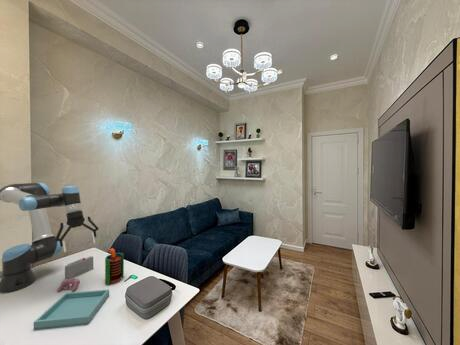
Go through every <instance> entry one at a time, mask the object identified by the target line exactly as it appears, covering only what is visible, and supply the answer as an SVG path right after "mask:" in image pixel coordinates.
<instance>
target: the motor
mask: <svg viewBox="0 0 460 345" xmlns="http://www.w3.org/2000/svg"><path fill="white" fill-rule="evenodd" d="M108 253H109V254H108V255H107V256H106V257H105V261H104V265H105V266H104V268H105V269H104V272H105V275H104V280H105V282H104V284H105V285H106V286H110V285H115V284H118V283H120V282H122V279H123V277H124V275H125V274H124V272H125V270H124V268H125V267H124V266H125V265H124V264H125V262H124V261H125V258H124V256H125V255H124V253H123V252H116V250H115V249H114V248H110V249H108Z"/></svg>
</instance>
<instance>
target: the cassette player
mask: <svg viewBox="0 0 460 345" xmlns="http://www.w3.org/2000/svg"><path fill="white" fill-rule="evenodd" d="M92 270H94V256H92V255H90V256H87V257H83V258H80V259H77V260H75V261H71V262H69V263H67V265H65V266H64V280H66V279H70V278H75V279H76V278H77V277H79V276H81V275H84V274H85V273H88V272H90V271H92Z"/></svg>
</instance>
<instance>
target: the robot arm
mask: <svg viewBox="0 0 460 345" xmlns="http://www.w3.org/2000/svg"><path fill="white" fill-rule="evenodd" d="M61 190H62V191H61V193H53V194H50V189H49V187H48V185H47V184H46V183H44V182H29V183H27V182H26V183H12V184H7V185H5V186H3V187H1V188H0V201H2V202H5V203H13V204H16V205H18V207H19V209H20V210H21V212H22V211H23V212H27V211H28V214H29V221H30V225H31V230H32V233H33V238H34V239H33V241H32V242H31V243H21V244H17V245H14V246H13V247H9V248H7V249H6V250H5V251H4V252H2V258H1V262H2V263H1V265H2V268H1V269H2V272H1V273H2V274H1V276H2V277H1V279H0V292H8V293H12V292H15V291H19V290H22V289H24V288H26V287H28V286H31V285H32V284H33V283H34V282H35V281H36V276H35V274H34V272H33V270H32V264H36V263H39V262H41V261H44V260H45V261H46V260H47V259H51V258H53V257H56V256H58V255H59V254H60V252H61V251H62V248H63V253H66V252H67V247H66V246H67V245H66V240H65V237H66V236H67V235H68V234H69V233H70V230H72V229H74V228H78V227H82V226H83V227H85V228H87V229H88V230H90V231H91V236H92V241H93V244H96V239H95V238H96V237H97V231H99V227H98V226H97V225H96V223H94V221H93V220H92V219H91V216H86V217H84V212H83V206H82V202H81V196H80V191H79V187H78V186H76V185H69V186H64V187H62V189H61ZM55 207H57V208H59V207H64V209H65V213H66V222H60V224H59V225H60V226H59V230H58V231H57V234H56V235H55V234H53V233H52V229H51V225H50V220H49V215H48V211H47V208H48V209H49V208H55ZM85 221H88V222H89V223H90V225H92V227H94V228H95V229H94V228H92V227H91V226H89V225H87V224H86V223H85ZM66 225H67V226H68V227H67V229H66V230H65V232H64V233H63V230H64V227H66ZM62 233H63V234H62ZM61 235H62V236H61Z"/></svg>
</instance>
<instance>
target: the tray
mask: <svg viewBox="0 0 460 345" xmlns="http://www.w3.org/2000/svg"><path fill="white" fill-rule="evenodd" d="M109 296H110V289H109V288H107V289H99V290H98V289H97V290H96V289H95V290H87V291H86V290H84V291H74V292H72V291H71V292H64V294H62V296H61V297H60V298H58V299H57V300H56V301H55V302H54V303H53V304H52V305H50V306H49V308H47V309H46V310H45V311H44V312H43V313H42V314H41V315H40V316H39V317H37V319H35V320H34V321H33V331H36V330H45V329H56V328H66V327H77V326H85V325H89V324H90V322H91V321H92V320H93V319H94V317H95V316H96V314H97V313H98V312H99V310H100V309H101V307H102V306H103V305H104V303H105V302H106V301H107V300H108V298H109Z"/></svg>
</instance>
